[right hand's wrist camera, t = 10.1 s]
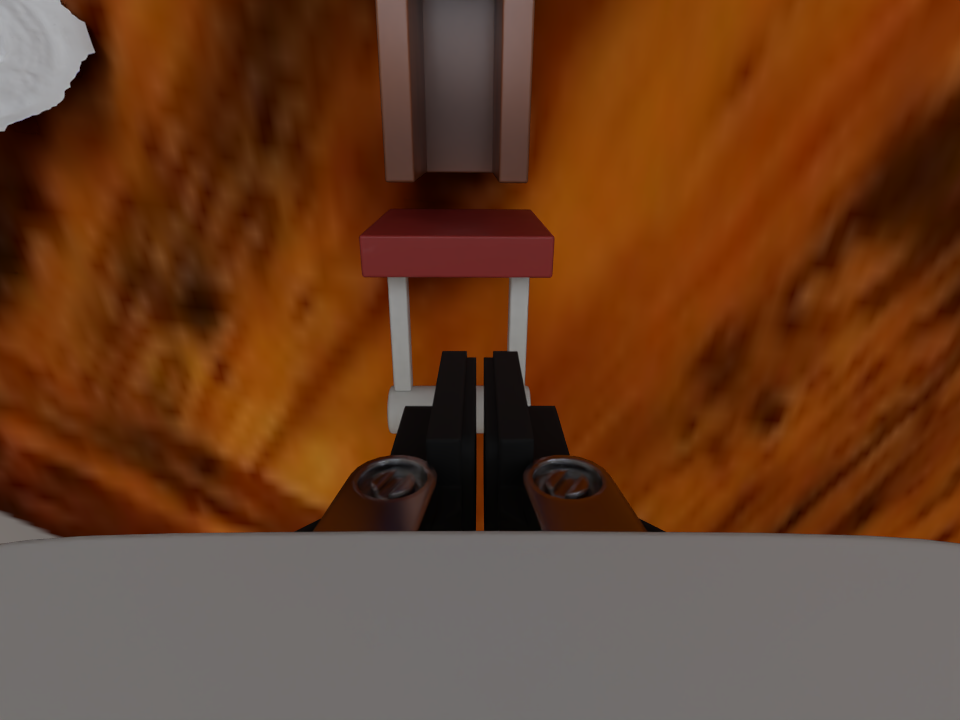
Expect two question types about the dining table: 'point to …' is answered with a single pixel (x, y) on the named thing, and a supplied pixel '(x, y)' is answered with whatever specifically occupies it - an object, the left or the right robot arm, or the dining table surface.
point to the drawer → (454, 162)
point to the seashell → (37, 56)
